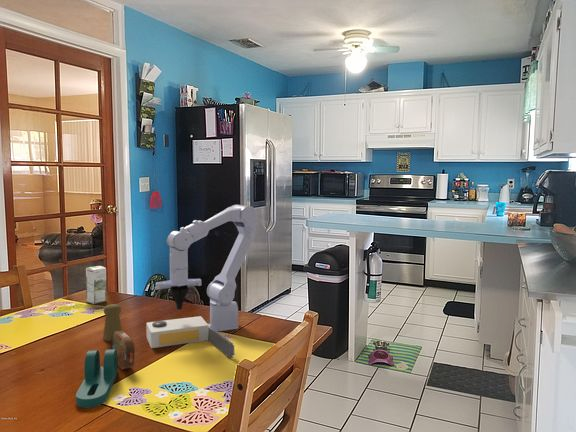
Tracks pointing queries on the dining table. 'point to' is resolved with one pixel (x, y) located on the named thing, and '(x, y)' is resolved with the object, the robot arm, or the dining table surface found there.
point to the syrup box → (96, 284)
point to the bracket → (97, 378)
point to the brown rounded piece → (123, 349)
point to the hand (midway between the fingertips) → (179, 308)
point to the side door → (221, 342)
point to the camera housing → (176, 331)
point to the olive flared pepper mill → (111, 320)
